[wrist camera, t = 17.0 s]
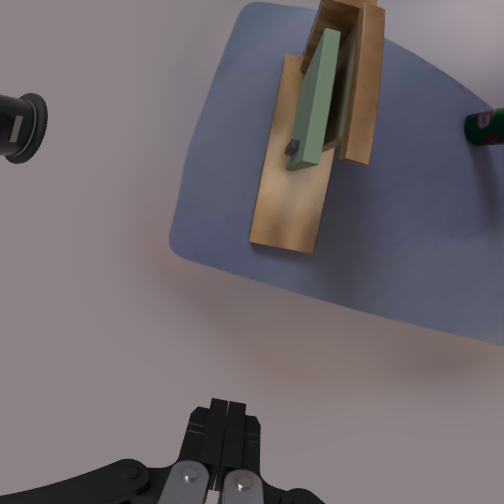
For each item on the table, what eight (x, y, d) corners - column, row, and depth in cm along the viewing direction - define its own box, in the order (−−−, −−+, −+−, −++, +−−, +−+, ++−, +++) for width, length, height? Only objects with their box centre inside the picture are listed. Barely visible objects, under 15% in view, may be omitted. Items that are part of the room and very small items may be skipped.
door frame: (249, 239, 37) (236, 299, 18) (285, 58, 31) (302, -32, 12) (310, 251, 37) (353, 319, 19) (344, 72, 31) (405, 1, 12)
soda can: (470, 109, 30) (520, 97, 19) (487, 133, 31) (537, 129, 20) (458, 127, 32) (510, 118, 20) (475, 152, 32) (528, 151, 21)
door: (279, 167, 33) (291, 158, 19) (295, 83, 30) (316, 25, 16) (294, 171, 33) (319, 164, 19) (310, 86, 30) (340, 31, 16)
